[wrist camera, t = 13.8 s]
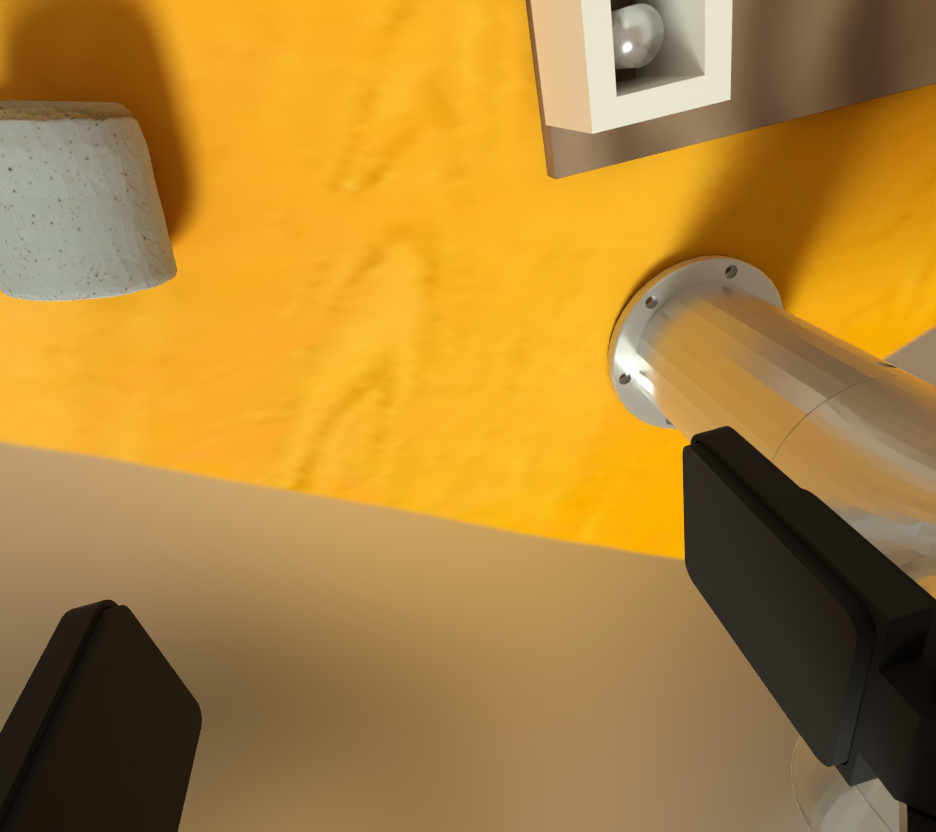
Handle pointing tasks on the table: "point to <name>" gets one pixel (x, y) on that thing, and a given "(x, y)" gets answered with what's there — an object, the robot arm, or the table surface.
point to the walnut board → (771, 75)
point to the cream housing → (656, 84)
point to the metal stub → (636, 35)
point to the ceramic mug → (78, 203)
